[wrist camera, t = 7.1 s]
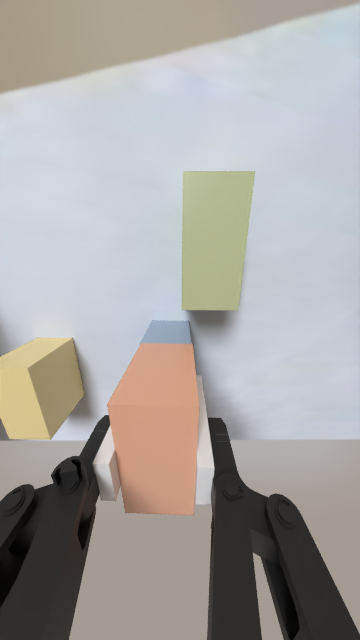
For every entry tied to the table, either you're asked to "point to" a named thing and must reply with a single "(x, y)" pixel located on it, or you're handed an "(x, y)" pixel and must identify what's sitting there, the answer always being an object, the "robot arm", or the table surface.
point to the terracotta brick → (157, 429)
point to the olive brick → (214, 237)
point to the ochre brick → (39, 387)
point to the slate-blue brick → (168, 332)
